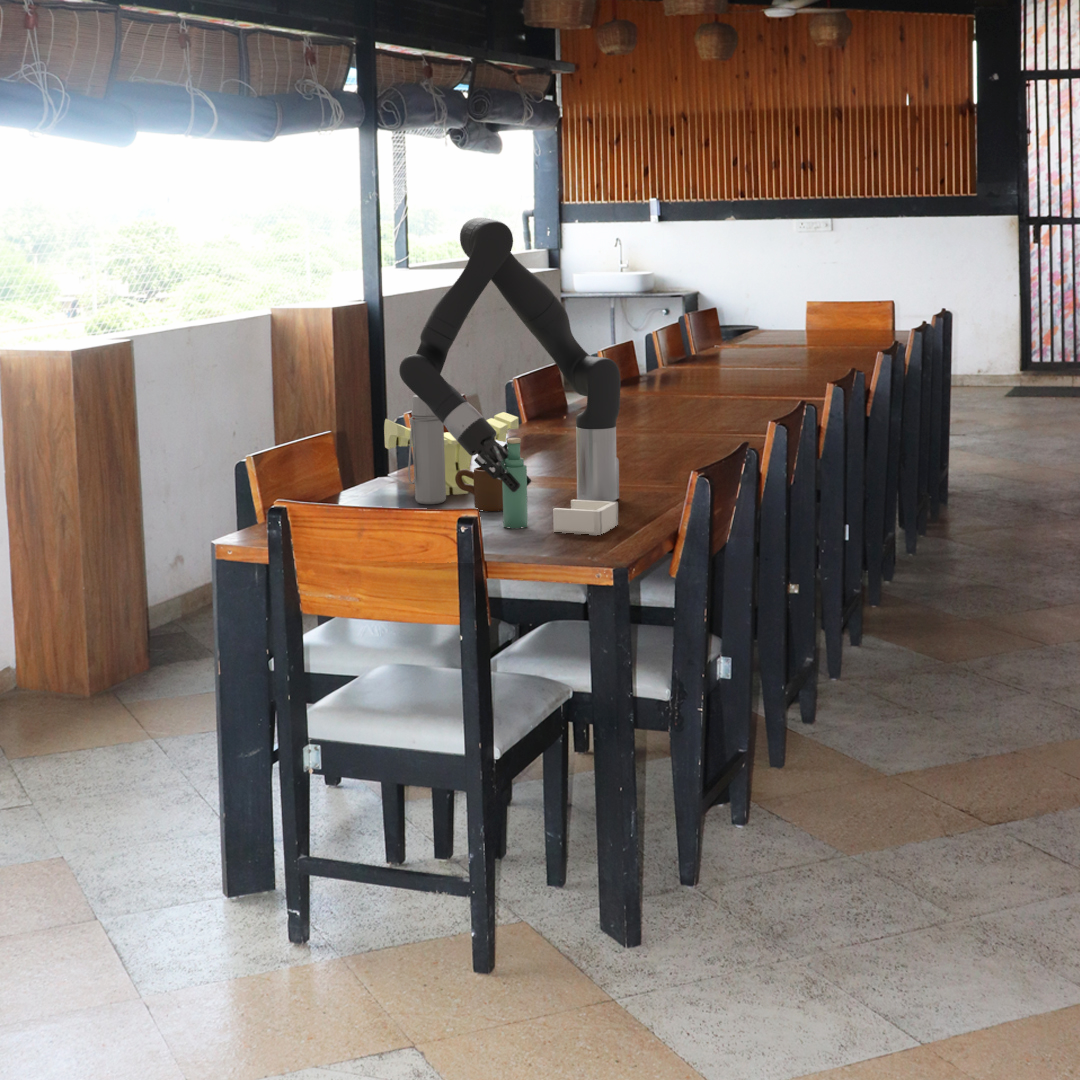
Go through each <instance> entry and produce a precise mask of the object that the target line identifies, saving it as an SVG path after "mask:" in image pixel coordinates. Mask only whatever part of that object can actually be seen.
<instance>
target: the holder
mask: <svg viewBox="0 0 1080 1080" xmlns="http://www.w3.org/2000/svg"><path fill="white" fill-rule="evenodd" d="M552 512H553V513H552V515H553V516H552V518H553V519H552V522H553V523H552V525H553V531H552V532H553V533H554V532H562V533H561V534H566V533H574V534H573V535H581V534H589V535H588V536H597V535H600V536H602V535H603V533H604V534H605V533H607V532H609V531H611V530H612V529H614V528H616V527H618V526H619V502H618V501H613V502H609V501H591V500H577V499H570V508H560V507H554V508H553V509H552ZM617 525H618V526H617ZM615 526H616V527H615ZM610 529H611V530H610ZM601 534H602V535H601Z"/></svg>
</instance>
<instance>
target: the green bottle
mask: <svg viewBox="0 0 1080 1080" xmlns="http://www.w3.org/2000/svg"><path fill="white" fill-rule="evenodd" d="M521 440H522V439H521V438H520V437H508V438H507V437H506V444H508V458H506V459H505V467H506V468H507V470H508V473H510V474H511V475H512V476H513V477H514V478H515V479H516V480H517V481H518V482H519V483H520V487H519V488H518V490H517V491H515V492H512V491H511V490H510V489H509V488H508V486H507V485H506V484H505V483H504V482H503V481H502V489H503V511H502V514H503V515H502V519H503V520H502V522H503V523H502V524H503V525H502V527H503V526H504V527H510V528H521V527H527V526H528V527H529V523H528V522H529V519H528V518H529V517H528V515H529V514H528V512H529V511H528V486H527V476H528V469H527V467H528V466H527V464H525V461H524V459H525V458H523V457H521V442H522V441H521ZM504 527H503V528H504ZM528 527H527V528H528Z"/></svg>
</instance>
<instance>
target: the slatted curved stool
mask: <svg viewBox="0 0 1080 1080" xmlns="http://www.w3.org/2000/svg"><path fill="white" fill-rule="evenodd" d="M485 420H486V421H487V422H488V423H489V424H490V425H491V426H492V427H493V428H494V429H495V431H496V436H495V438H494V440H495V441H496V442H497V441H498V442H503V443H507V434H508V433H509V431H508V430H519V428H520V425H519V421H520V420H519V416H516V415H514V414H510V413H507V412H505V411H503V412H499V413H497V414H495V415H494V416H493V418H492V417H490V418H489V419H485ZM383 430H384V431H383V432H384V433H383V434H384V448H385V449H387V450H391V449H395V448H397V446H398V447H399V448H401V447H408V446H409V447H410V432H411V427H406V426H404V425H402V424H399V423H396V422H394V421H392V420H390V419H388V418H385V420H384V425H383ZM411 448H413V445H412V444H411ZM444 454H445V484H446V496H450V495H464V494H465V495H467V494H471V493H470V492H468V491H464V490H462V489H460V488H459V487H458V486H457V484H456V481H455V476H456V474H457V472H458V471H460V470H462V469H468V470H470V471H471V467H470V464H471V460H472V458H473V456H471V455H469V454H468V452H467V451H466V450H465V449H464V448H463V447H462V446H461V445H460V444H459V442H458V441H457V440H456V439H455V438H454V437H453V436H452V435H451V434H450V432H449V431H448V432H444ZM462 480H463V482H464V483H465V484H471V485H473V486H474V480H473V479H472V478H469V477H467V476H462Z"/></svg>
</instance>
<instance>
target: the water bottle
mask: <svg viewBox="0 0 1080 1080" xmlns="http://www.w3.org/2000/svg"><path fill="white" fill-rule="evenodd" d="M411 398H412V399H411V417H409V419H408V420H409V424H410V428H411V432H410V446H409V450H408V463H407V464H408V465H407V477H408V482H409V484H410V485H414V492H415V493H414V495H415V496H414V498H415V501H416V502H417V503H418V504H420V505H438V504H442V503H444V502H445V501H446V500H447V495H446V484H445V454H444V433H445V432H444V429H445V428H444V427H445V425H444V424H443V423H442V422H441V421H440V420H439V419H438V418H437V416H436V415H435V414H434V413H433V412H432V411H431V409H430V408H429V407H428V405H427V404H426V403H425V402H423V401H422V400H421V399H420V398H419V397H418V396H417V395H416V394H415V395H412V397H411ZM411 444H412V445H413V447H411ZM411 457H412V458H413V459H412V458H411ZM411 459H412V461H413V476H414V478H413V480H412V481H411Z"/></svg>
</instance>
